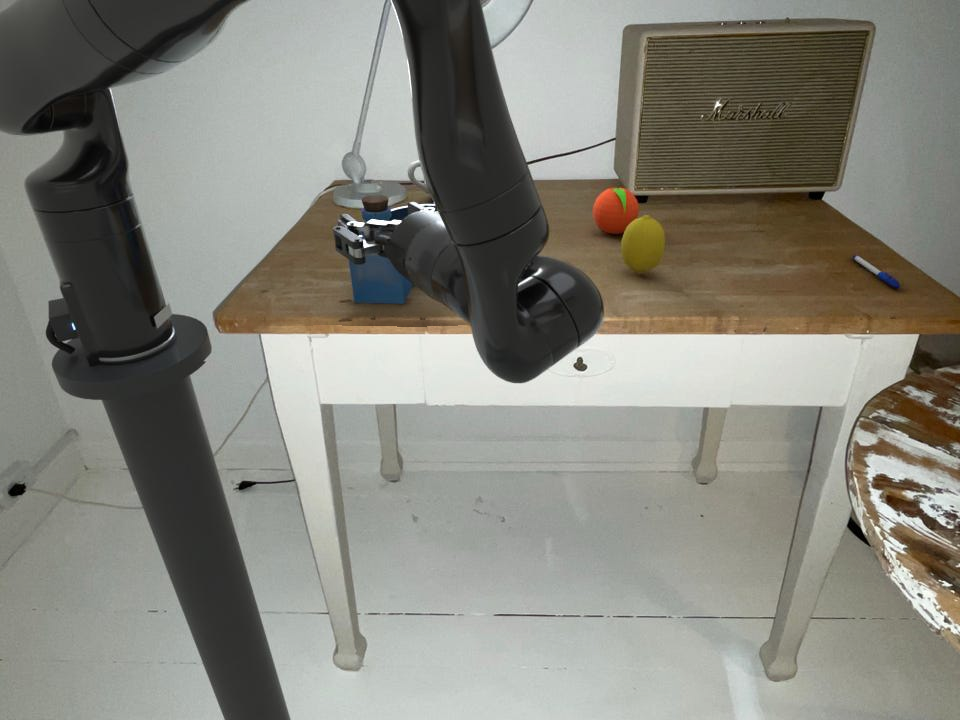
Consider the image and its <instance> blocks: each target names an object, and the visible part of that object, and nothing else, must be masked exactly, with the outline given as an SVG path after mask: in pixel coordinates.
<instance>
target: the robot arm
mask: <svg viewBox="0 0 960 720" xmlns="http://www.w3.org/2000/svg"><path fill="white" fill-rule="evenodd" d="M249 2H251V0H15V1H14V2H11V4H9V5H8V6H7V7H5V8H4V9H2V10H0V132H1V133H2V134H3V133H4V134H6V135H11V136H22V137H31V136H38V135H45V134H50V133H51V134H52V133H56V132H62V133H63V138H62V143H61V144H60V147H59V148H58V150H57V151H56V152H55V153H54V154H53V155H52V156H51V157H50V158H49V159H48V160H47V161H46V162H44V163H43V164H41V165H39V166H38V167H37V168H35V169H34V170H32V171H31V172H30V173H29V174H27V175H26V176H25V179H24V183H23V187H24V191H25V194H26V196H27V199H28V202H29V204H30V205H29V206H30V207H31V209H32V212H33V215H34V217H35V221H36V222H37V226H38V228H39V231H40V233H41V237H42V238H43V241H44V244H45V246H46V249H47V251H48V254H49V256H50V259H51V262H52V265H53V267H54V270H55V272H56V276H57V278H58V280H59V283H58V284H59V290H60V293H61V295H62V297H61V298H56V299H51V300H48V302H47V304H48V321H47V325H46V328H45V337H46V339H47V341H48V342H49V343H50V344H51V345H52V346H53V347H55V348H57V349H58V350H59V349H61V350H63V351H65V352H67V353H69V354H72V353H73V352H74V351H75V348H74V347H72V346H70V345H68V344H66V343H67V342H68V341H70V340H72V339H76V338H79V340H80V343H81V345H82V348H83V351H84V353H85V356H86V358H87V361H88V364H89V366H90V367H92V366H96V365H120V364H127V363H133V362H137V361H141V360H144V359H147V358H150V357H152V356H155V355H157V354H159V353H161V352H163V351H164V350H166V349H167V348H169V347H170V346H171V345H172V344H173V343H174V341H175V339H176V334H175V330H174V327H173V326H172V322H171V319H170V316H171V315H172V314H173V312H172V307H171V304H170V303H168V304H167V303H166V299H165V297H164V292H163V290H162V286H161V282H160V280H159V276H158V273H157V269H156V266H155V262H154V259H153V256H152V253H151V250H150V246H149V243H148V239H147V235H146V232H145V229H144V226H143V225H144V224H143V222H142V219H141V215H140V212H139V209H138V205H137V202H136V199H135V196H134V192H133V191H134V190H133V188H132V185H131V184H132V183H131V181H130V161H129V156H128V151H127V148H126V144H125V141H124V136H123V133H122V128H121V124H120V120H119V114H118V109H117V107H116V102H115V97H114V93H113V89H114V88H118V87H122V86H126V85H131V84H135V83H137V82H141V81H145V80H148V79H151V78H154V77H157V76H159V75H163V74H164V73H166V72H169V71H171V70H172V69H174V68H176V67H177V66H180V65H181V64H183V63H185V62H186V61H188V60H190V59H192V58H194V57H195V56H197V55H199V54H200V53H201V52H203V51H204V50H206V49H207V48H208V47H209V46H210V45H212V44H213V43H214V42H215V41H216V40H217V39H218V38H219V37H220V36H221V34H222V33H223V32H224V29H225V28H226V26H227V25H228V22H229V19H230V16H231V15H232V14H233V13H234V12H235V11H236V10H237V9H238V8H240V7H241V6H243V5H244V4H247V3H249ZM390 2H391V5H392V7H393V10H394V12H395V15H396V19H397V21H398V25H399V28H400V32H401V36H402V40H403V45H404V50H405V56H406V60H407V69H408V76H409V85H410V95H411V109H412V118H413V119H412V120H413V128H414V130H413V131H414V138H415V146H416V151H417V156H418V161H420V165H421V167H420V169H421V172H422V175H423V180H424V179H425V182H426V184H427V187H428V190H429V192H430V194H429V195H430V197H431V199H432V201H433V204H435V206H436V208H437V210H438V211H435V208H432V207H428V208H425V207H424V206H422V205H421V204H419V203H417V202H415V201H410V202H408V203H407V206H408V216H407V217H406V218H404V219H403V220H402V221H399V220H392V221H391V222H389V221H380V220H369V221H368V222H366V223H364V222H359V221H357V220H356V219H354V218H353V217H352V216H350V215H349V214H348V213H342V214H339V218H338V219H337V221H336V222H337V225H336V226H333V227H332V233H333V237H334V239H333V240H334V248H335V251H336V252H337V253H339V254H340V255H342V256H343V257H344V258H345V259H347V260H348V261H349V260H350V261H351V262H353V263H354V264H357V265H361V264H364V263H366V260H365V256H367V255H372V254H378V255H379V256H381V257H385V258H388V259H389V260H390V261H391V263H392V265H393V266H394V268H395V269H396V270H397V271H398V273H400V274H401V275H402V276H403V277H404V278H406V279H407V280H408V281H410V282H411V283H412V284H413V285H412V286H415V287H416V288H417V289H419V290H420V291H421V292H422V293H423V294H425V295H426V296H428V297H430V298H431V299H432V300H433V301H436V302H437V303H440V304H442V305H443V306H445V307H446V308H447V309H448V310H450V312H452V313H453V314H455V315H456V316H457V317H459V318H460V319H462V320H463V321H464V322H467V323H468V324H469V325H470V329H471V335H472V338H473V342H474V345H475V348H476V351H477V353H478V355H479V357H480V360H481V361H482V362H483V364H484V365H485V366H486V368H487V369H488V370H489V371H490V372H491V373H492V374H493V375H495V376H496V377H497V378H499V379H501V380H502V381H505V382H508V383H511V384H526V383H529V382H531V381H532V380H534V379H536V378H538V377H540V375H542V374H543V373H545V372H546V371H548V370H549V369H550V368H552V367H553V366H554V365H556V364H557V363H559V362H560V361H562V360H563V359H564V358H566V357H567V356H568V355H570V354H571V353H572V352H574V351H575V350H576V349H578V348H580V347H581V346H583V345H585V343H587V342H588V341H590V340H591V339H592V338H593V337H594V336H596V334H597V333H598V332H599V330H600V328H601V327H602V325H603V322H604V319H605V318H604V317H605V304H604V300H603V297H602V294H601V292H600V290H599V288H598V287H597V285H596V284H595V283H594V281H593V280H592V279H591V278H590V277H589V275H588V274H586V273H585V272H584V271H583V270H581V269H580V268H578V267H576V266H575V265H573V264H571V263H570V262H567V261H565V260H562V259H560V258H557V257H551V256H546V255H540V254H541V252H542V251H543V249H544V248H545V247H546V245H547V243H548V242H549V238H550V225H549V220H548V217H547V214H546V211H545V208H544V206H543V203H542V201H541V198H540V195H539V191H538V189H537V185H536V184H535V182H534V179H533V175H532V173H531V170H530V168H529V165H528V162H527V159H526V157H525V154H524V151H523V147H522V146H521V143H520V139H519V137H518V134H517V132H516V128H515V126H514V122H513V120H512V116H511V114H510V110H509V108H508V104H507V101H506V98H505V94H504V90H503V87H502V83H501V80H500V76H499V72H498V68H497V64H496V60H495V56H494V53H493V48H492V44H491V40H490V35H489V31H488V27H487V22H486V18H485V14H484V8H483V4H482V0H390ZM376 229H381V230H380V232H379V233H378V234H377V236H376ZM359 230H360V231H363V232H364V235H365V240H363V236H362V235H360V236H359ZM66 341H67V342H66Z"/></svg>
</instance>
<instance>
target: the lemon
mask: <svg viewBox="0 0 960 720" xmlns="http://www.w3.org/2000/svg"><path fill="white" fill-rule="evenodd" d="M622 234H623V235H622V238H621V241H620V242H621V243H620V253H621V258H622V260H623V262H624V264H625V265H626V266H627V267H628V268H629V269H631V270H633V271H634V272H635V273H636V274H637V275H642V274H644V273H645V272H648V271H651V270H652V269H654V268H655V267H657V266H658V265H659V263H660V262H661V260H662V259H663V257H664V253H665V250H666V234H665V230H664V227H663V226H662V224H661V223H660V222H659V221H658V220H656V219H654V218H653V217H651V216H650V215H648V214H644V215H642V216H641V217H637V219H635V220H634V221H632V222H631V223H630V224H629V225H628V226H627V228H626V230H625V232H623V233H622Z"/></svg>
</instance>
